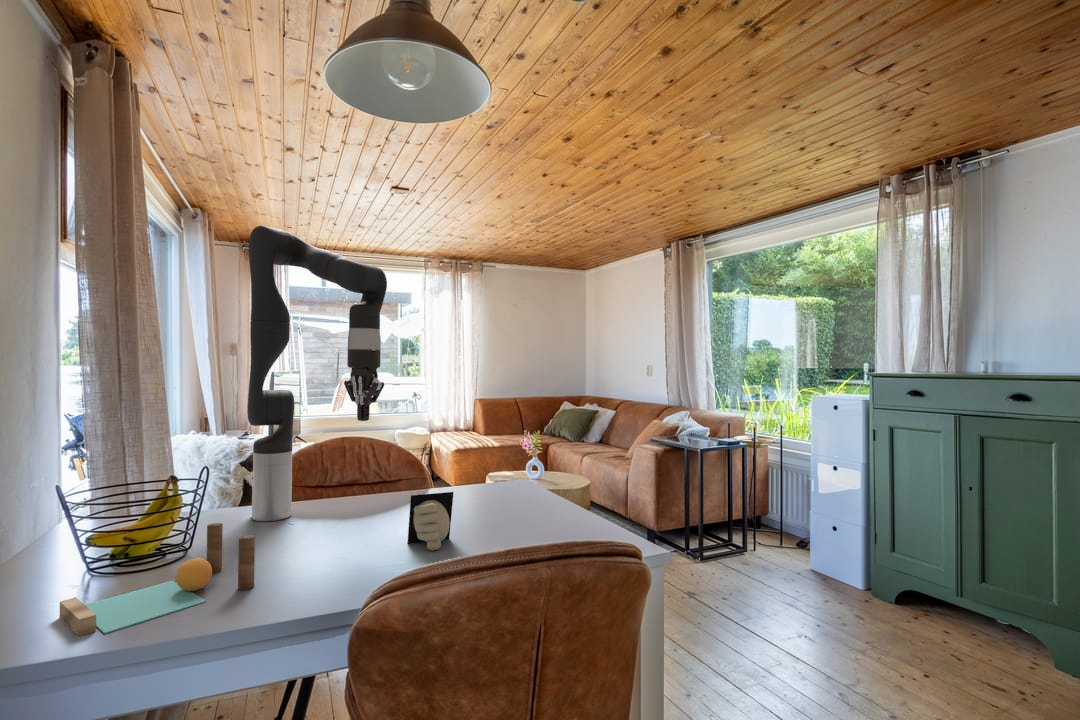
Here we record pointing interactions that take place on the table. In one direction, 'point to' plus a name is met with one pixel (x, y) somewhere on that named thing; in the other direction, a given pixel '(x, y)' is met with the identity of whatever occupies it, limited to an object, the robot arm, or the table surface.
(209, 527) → the post
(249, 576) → the post
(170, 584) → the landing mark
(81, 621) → the rail
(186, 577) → the ball
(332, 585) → the table surface
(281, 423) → the robot arm
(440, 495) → the decorative object
